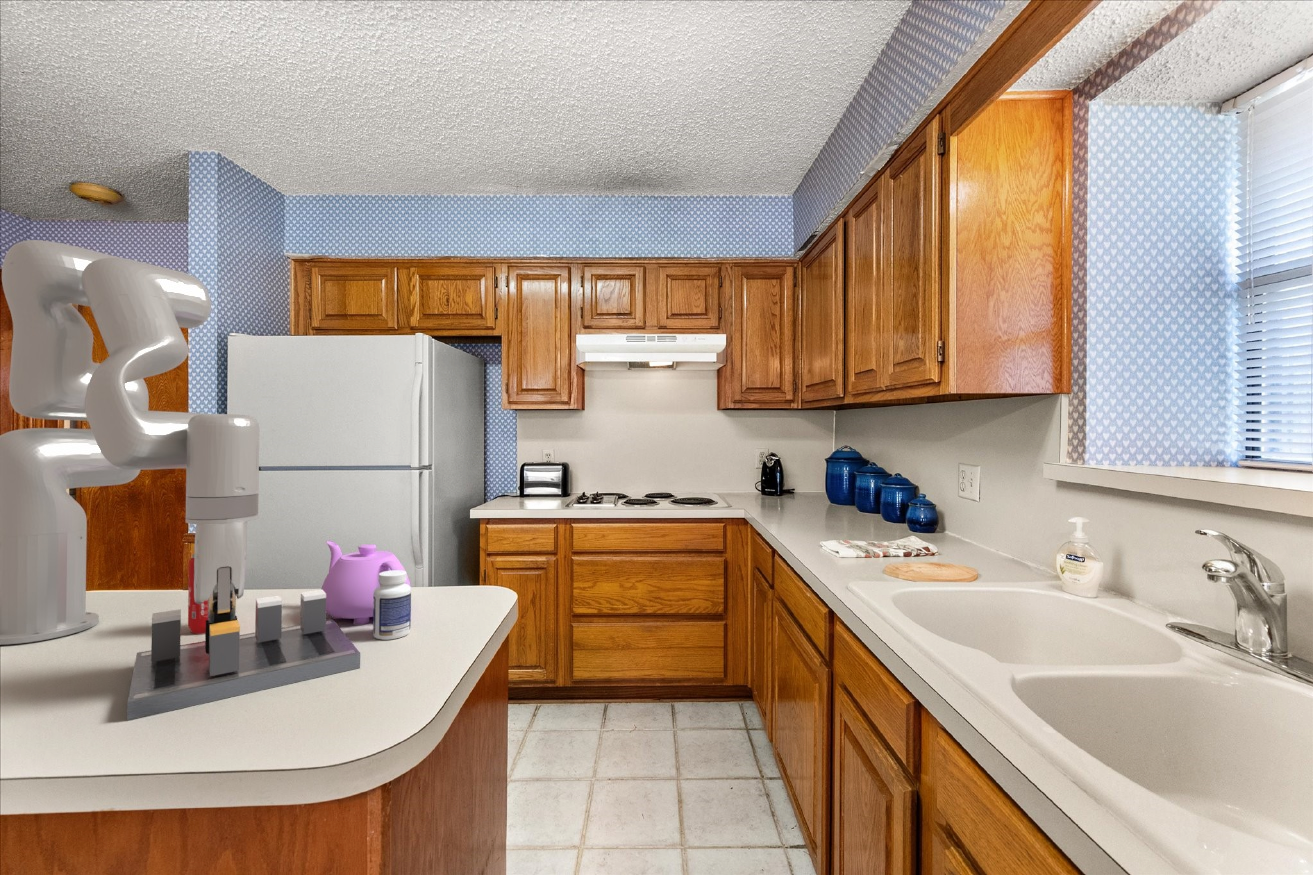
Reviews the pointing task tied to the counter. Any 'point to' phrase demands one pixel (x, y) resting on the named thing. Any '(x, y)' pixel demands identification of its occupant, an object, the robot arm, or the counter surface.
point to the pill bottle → (392, 606)
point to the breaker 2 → (268, 619)
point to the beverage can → (196, 606)
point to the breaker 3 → (313, 611)
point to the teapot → (356, 581)
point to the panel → (258, 669)
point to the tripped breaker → (224, 647)
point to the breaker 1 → (166, 635)
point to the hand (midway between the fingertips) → (221, 649)
